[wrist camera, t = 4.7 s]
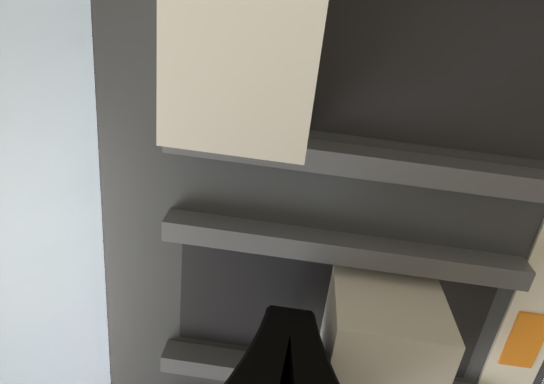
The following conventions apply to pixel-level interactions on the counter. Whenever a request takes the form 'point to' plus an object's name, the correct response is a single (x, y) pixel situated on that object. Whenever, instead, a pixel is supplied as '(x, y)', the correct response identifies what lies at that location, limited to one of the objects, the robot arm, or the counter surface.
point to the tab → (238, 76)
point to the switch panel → (333, 190)
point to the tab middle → (389, 329)
